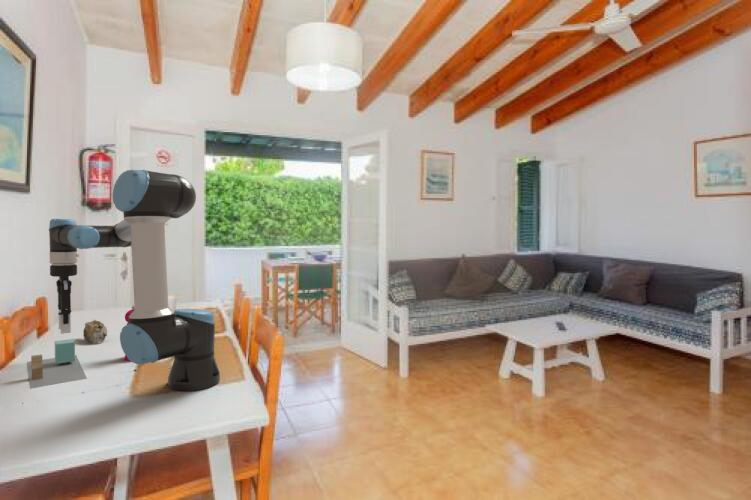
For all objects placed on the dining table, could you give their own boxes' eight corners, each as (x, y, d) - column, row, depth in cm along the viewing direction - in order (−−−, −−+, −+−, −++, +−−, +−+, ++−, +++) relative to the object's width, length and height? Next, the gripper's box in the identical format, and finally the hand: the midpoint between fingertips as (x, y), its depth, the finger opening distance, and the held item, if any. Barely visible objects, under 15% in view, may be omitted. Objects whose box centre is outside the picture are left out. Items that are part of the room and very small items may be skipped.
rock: (112, 339, 178) (105, 316, 178) (94, 344, 173) (87, 320, 173) (103, 342, 185) (96, 320, 186) (86, 348, 180) (79, 325, 181)
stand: (87, 380, 135) (87, 378, 135) (29, 390, 126) (29, 388, 126) (76, 356, 158) (76, 354, 158) (27, 363, 149) (27, 361, 149)
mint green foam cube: (74, 361, 148) (74, 342, 148) (56, 363, 145) (55, 344, 145) (73, 357, 152) (72, 338, 152) (54, 359, 149) (54, 341, 148)
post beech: (42, 378, 134) (42, 356, 134) (31, 380, 132) (31, 357, 132) (42, 376, 136) (41, 354, 136) (31, 377, 134) (31, 355, 134)
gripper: (80, 266, 142) (81, 335, 143) (73, 261, 157) (74, 323, 158) (52, 267, 137) (53, 338, 138) (48, 262, 152) (48, 326, 153)
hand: (64, 330), depth 148 cm, fingers open, 7 cm apart
